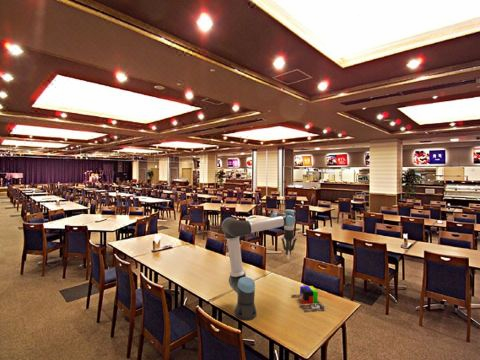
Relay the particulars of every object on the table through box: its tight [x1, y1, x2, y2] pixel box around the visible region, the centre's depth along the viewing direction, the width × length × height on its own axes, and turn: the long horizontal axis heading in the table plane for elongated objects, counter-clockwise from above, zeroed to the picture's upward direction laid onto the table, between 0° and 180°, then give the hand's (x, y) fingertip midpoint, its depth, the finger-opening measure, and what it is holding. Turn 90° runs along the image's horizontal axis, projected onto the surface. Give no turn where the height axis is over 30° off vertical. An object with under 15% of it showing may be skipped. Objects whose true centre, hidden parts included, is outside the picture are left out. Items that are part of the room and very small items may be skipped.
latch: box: [310, 305, 320, 310], centre depth 183 cm, size 6×2×3 cm, turn 100°
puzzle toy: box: [299, 285, 319, 304], centre depth 197 cm, size 10×10×10 cm
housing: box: [290, 293, 327, 313], centre depth 192 cm, size 17×24×4 cm
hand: (288, 258), depth 204 cm, fingers closed
